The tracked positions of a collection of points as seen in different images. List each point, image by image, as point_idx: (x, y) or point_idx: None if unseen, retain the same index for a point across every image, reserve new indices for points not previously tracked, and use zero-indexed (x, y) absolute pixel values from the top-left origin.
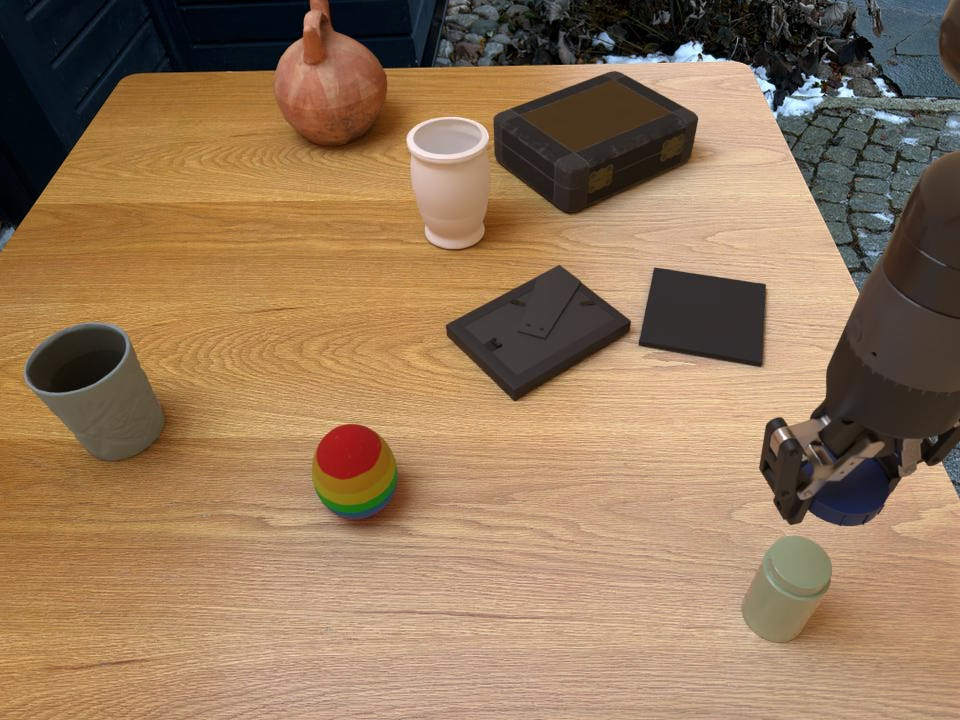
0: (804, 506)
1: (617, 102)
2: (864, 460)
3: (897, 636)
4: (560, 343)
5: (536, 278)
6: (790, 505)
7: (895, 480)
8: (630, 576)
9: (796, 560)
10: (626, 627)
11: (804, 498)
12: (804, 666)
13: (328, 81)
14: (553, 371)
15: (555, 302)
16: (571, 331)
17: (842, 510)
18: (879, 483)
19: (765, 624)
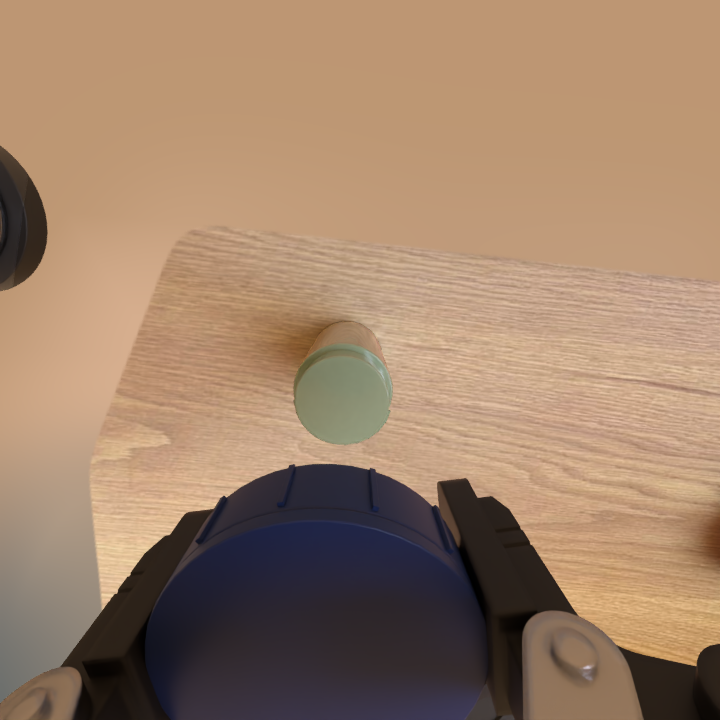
0: (495, 556)
1: None
2: (208, 717)
3: (211, 314)
4: (489, 702)
5: None
6: (533, 560)
7: (113, 639)
8: (492, 414)
9: (350, 404)
10: (517, 356)
11: (559, 619)
12: (331, 291)
13: None
14: None
15: None
16: (471, 715)
17: (390, 541)
18: (184, 633)
19: (373, 337)
